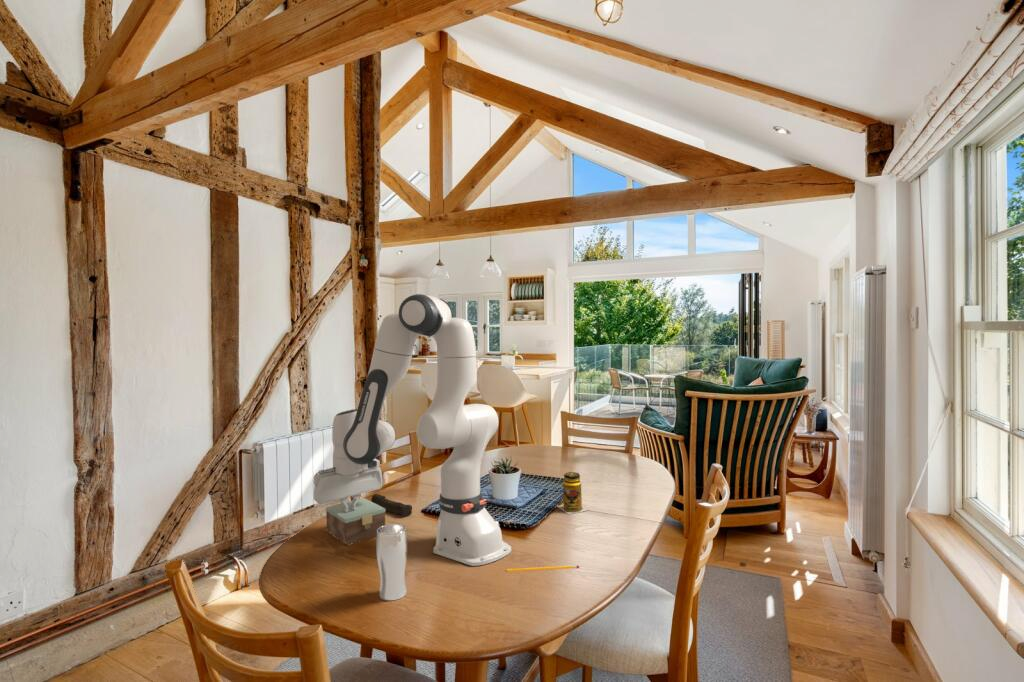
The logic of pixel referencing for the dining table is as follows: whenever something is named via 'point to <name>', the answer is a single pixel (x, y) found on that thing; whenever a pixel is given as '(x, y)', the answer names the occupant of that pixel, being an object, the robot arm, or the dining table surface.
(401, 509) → the dark brown rough bar
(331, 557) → the dining table surface
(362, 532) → the box
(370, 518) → the lid
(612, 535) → the dining table surface
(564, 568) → the pencil
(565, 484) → the condiment
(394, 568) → the beer glass
